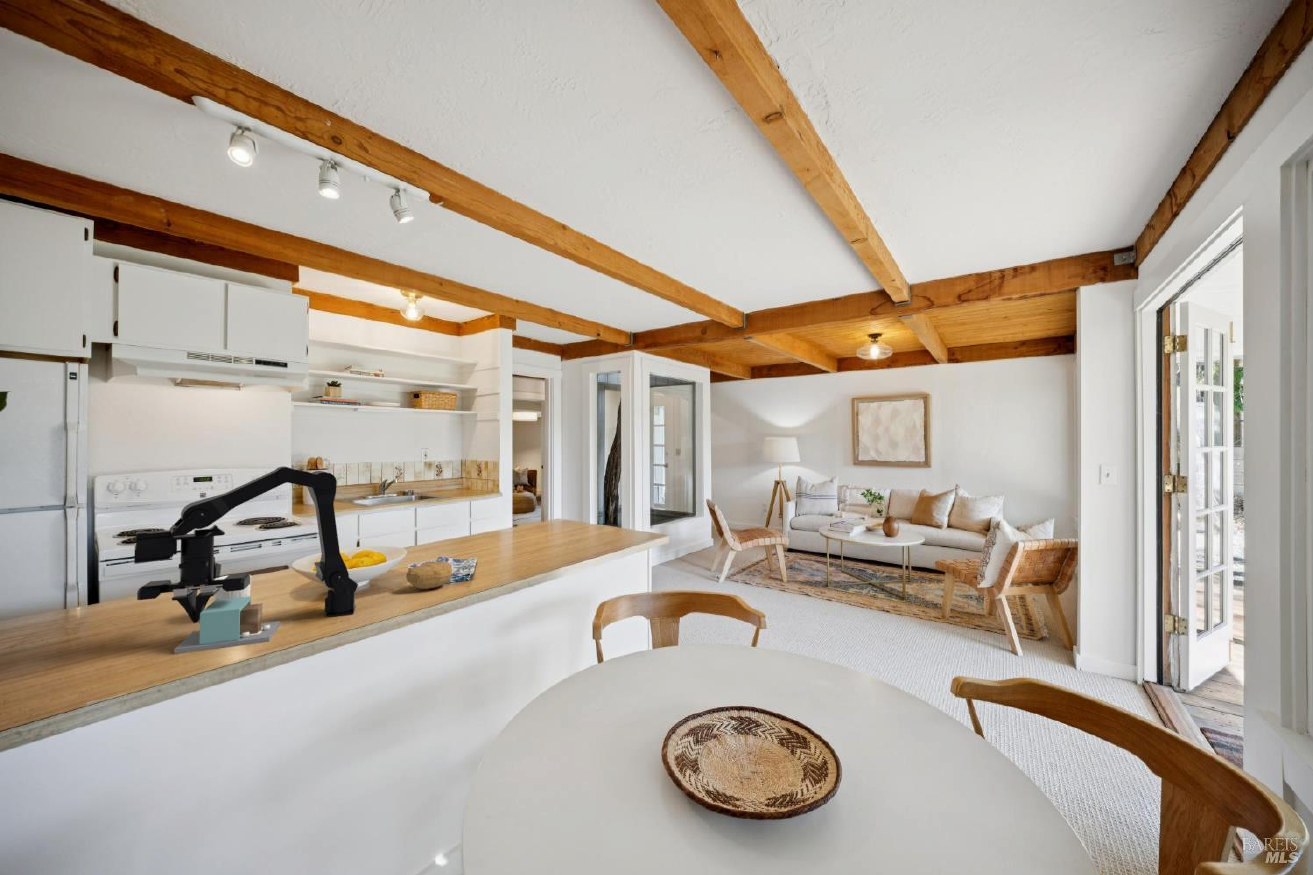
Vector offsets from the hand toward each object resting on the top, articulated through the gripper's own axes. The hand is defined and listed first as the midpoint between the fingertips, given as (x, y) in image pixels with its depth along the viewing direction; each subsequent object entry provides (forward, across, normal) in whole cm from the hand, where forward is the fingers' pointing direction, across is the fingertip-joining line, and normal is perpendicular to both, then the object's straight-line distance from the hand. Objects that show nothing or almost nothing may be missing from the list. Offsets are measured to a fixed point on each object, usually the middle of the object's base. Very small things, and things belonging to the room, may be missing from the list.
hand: (196, 622), depth 115 cm
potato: (+5, -51, -24) cm, 57 cm away
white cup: (+5, -2, -19) cm, 20 cm away
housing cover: (+4, -6, 0) cm, 7 cm away
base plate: (+5, -6, 0) cm, 8 cm away
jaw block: (+4, -10, 0) cm, 11 cm away
